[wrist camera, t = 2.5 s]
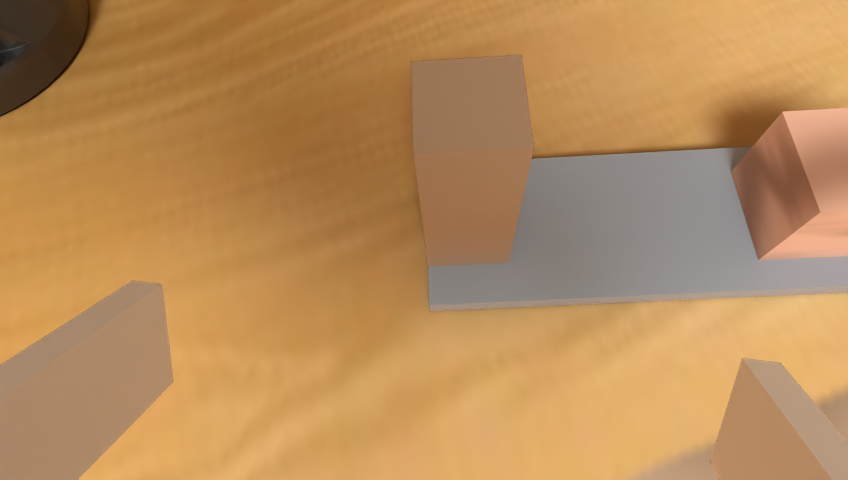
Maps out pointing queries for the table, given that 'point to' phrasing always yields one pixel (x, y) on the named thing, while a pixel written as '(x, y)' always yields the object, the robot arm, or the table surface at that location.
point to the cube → (797, 186)
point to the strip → (575, 209)
